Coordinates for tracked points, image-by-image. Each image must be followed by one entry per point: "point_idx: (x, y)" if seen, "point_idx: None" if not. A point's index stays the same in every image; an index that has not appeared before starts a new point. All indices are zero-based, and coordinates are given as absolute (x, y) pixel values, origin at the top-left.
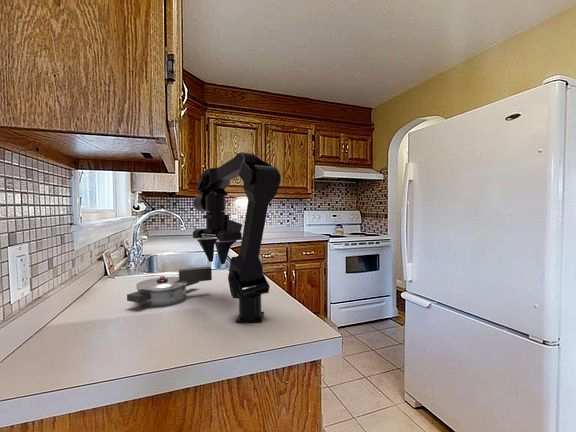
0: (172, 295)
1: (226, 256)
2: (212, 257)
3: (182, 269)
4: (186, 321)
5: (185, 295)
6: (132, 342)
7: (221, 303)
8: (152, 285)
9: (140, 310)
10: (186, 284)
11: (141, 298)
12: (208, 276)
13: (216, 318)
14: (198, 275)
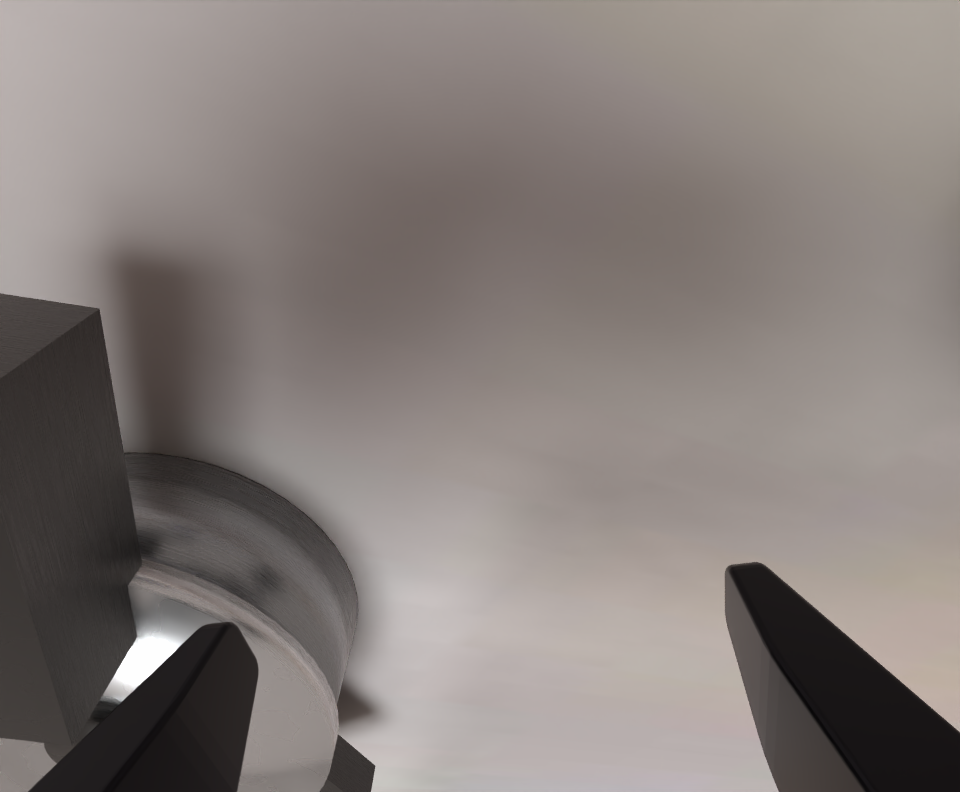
0: (332, 632)
1: (931, 725)
2: (197, 712)
3: None
4: None
5: (225, 497)
6: None
7: (553, 269)
8: None
9: (358, 704)
10: None
11: (359, 781)
12: (72, 377)
13: (885, 440)
14: (78, 512)
